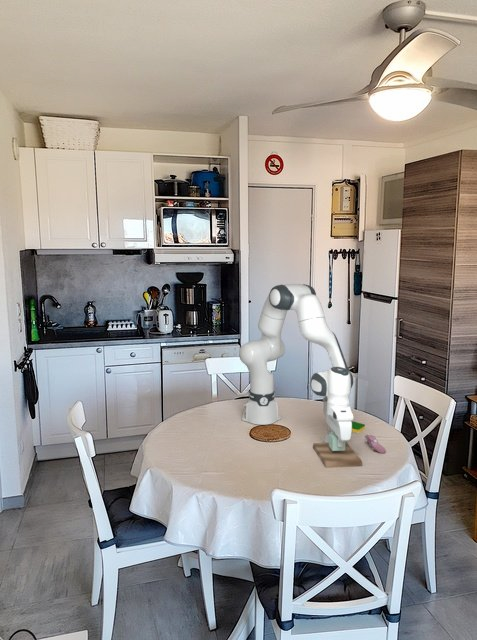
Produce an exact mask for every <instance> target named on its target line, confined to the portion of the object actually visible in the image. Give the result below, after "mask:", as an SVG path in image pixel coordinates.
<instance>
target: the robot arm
mask: <svg viewBox="0 0 477 640" xmlns="http://www.w3.org/2000/svg"><path fill="white" fill-rule="evenodd" d="M288 311H294V312H295V313H296V316H297V323H298V328H299V332H300V334H301V336H302V337H303V339H305V340H306V341H308V342H310V343H311V344H312V343H313V344H315V345H319V346H321V347H322V348H324V349H325V350H326V352H327V354H328V356H329V357H328V358H329V360H330V362H331V366H332V367H330V368H329V369H327V370H323V371H318V372H314V373H313V374H312V375H311V377H310V382H309V383H310V389H311V391H312V392H313V393H314V394H315V395H316V396H319V397H327V413H326V417H325V422H326V424H327V426H328V425H329V426H328V428H329V427H330V428H331V434H336V435H337V437H338V441H337V446H338V447H342V445H343V441H345V442H349V441H350V440H351V439H352V422H351V421H354V414H353V412H352V408H351V399H350V397H351V391H352V388H353V385H354V377H353V375H352V372H351V370H350V369H349V367H348V364H347V362H346V358H345V356H344V353H343V350H342V348H341V345H340V342H339V340H338V338H337V335H336V334H335V332H333V331H332V330H331V329H330V327H329V325H328V323H327V320H326V316H325V312H324V309H323V306H322V303H321V301H320V298H319V297H318V296H317V293H316V290H315V288H314V287H313V286H311V285H308V284H304V283H303V284H299V283H290V284H277V285H275V286H273V287H272V288H271V289H270V291H269V293H268V295H267V297H266V299H265V301H264V304H263V306H262V309H261V313H260V316H259V320H258V323H257V327H258V330H259V331H260V332H261V337H260V338H259V339H256V340H251V341H248V342H246V343H244V344H243V345H241V346H240V347H239V350H238V357H239V359H240V361H241V363H242V364H244V366H245V367H246V368H247V370H248V374H249V381H250V382H249V384H250V387H249V388H250V389H249V393H248V399H247V402H246V403H245V402H244V403H243V413H242V415H241V416H242V417H241V421H242V422H248V423H250V424H254V425H260V426H261V425H265V426H266V425H272V424H274V423H276V422H277V421H280V420H282V417H281V416H280V415H279V414H278V413H279V411H278V402H277V401H276V400H275V396H276V395H275V390H274V387H275V386H274V385H275V382H274V381H275V380H274V379H275V378H274V374H273V373H272V372H271V371H270V370H269V369H268V366H267V365H268V363H269V362H273V361H276V360H278V359H280V358H281V357H283V356H284V354H285V353H286V352H285V351H286V345H285V342H284V341H283V340H282V330H283V327H284V324H285V320H286V317H287V313H288Z"/></svg>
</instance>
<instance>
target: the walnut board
mask: <svg viewBox="0 0 477 640" xmlns="http://www.w3.org/2000/svg"><path fill="white" fill-rule="evenodd" d="M347 442H348V441H345V450H343V451H332V450H331V448H330V447H329V443H328V442H316V443H315V442H313V445H312V449H313V450H314V452H315V453H316V455H317V456H318V458H319V459H320V461H321V462H322V464H323V465H324V467H325V468H329V469H330V468H350V467H362V466H363V460H362V459H361V457H359V456H358V454H357V453H356V452H355V451H354V450H353V449H352V447H351V446H350V444H349V443H347Z"/></svg>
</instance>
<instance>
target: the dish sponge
mask: <svg viewBox="0 0 477 640" xmlns="http://www.w3.org/2000/svg"><path fill="white" fill-rule="evenodd" d="M351 422H352V432H353V433H357V434H359V433H361V432H362V431H364V430H365V429H366V424H365V423H361V422H356V421H354V420H352V421H351ZM352 432H351V433H352Z"/></svg>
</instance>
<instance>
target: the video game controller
mask: <svg viewBox="0 0 477 640" xmlns="http://www.w3.org/2000/svg"><path fill="white" fill-rule="evenodd" d="M364 438H365V439H364V441H365V442H366V443H368V445H369V447H370V448H371V450H372V451H374V452H375V451H376V452H378V453H380V454H385V453H386V449H385V447H383V445H381V444H380V442H379V440H377V438H376V436H374V435H372V434H371V433H369V434H366V435H364Z"/></svg>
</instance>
